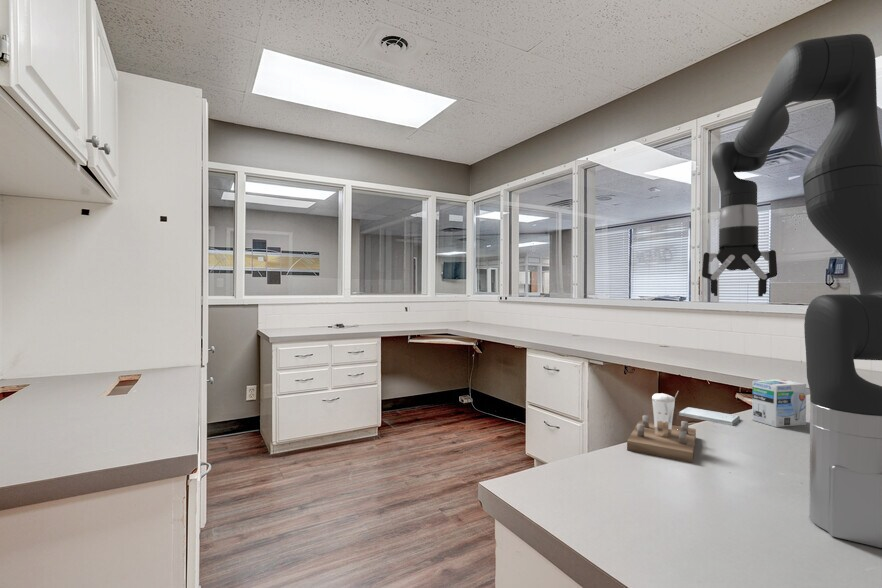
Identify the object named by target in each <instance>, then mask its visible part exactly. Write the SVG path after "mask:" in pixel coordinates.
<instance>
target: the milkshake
mask: <svg viewBox="0 0 882 588" xmlns="http://www.w3.org/2000/svg"><path fill="white" fill-rule="evenodd" d="M679 392H680V391H679V390H677V392H676V393H675V396H672V395H669V394H667V393H663V392H661V393H658V392H656V393H653V394H652V396H651V402H652V403H651V404H652V411H653V413H652V414H653V422H654V427H655V434H656V435H658V436H662V437H671V430H672V425H673V417H674V413H675V412H674V410H675V401H676V398H677V396H678V393H679Z"/></svg>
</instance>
